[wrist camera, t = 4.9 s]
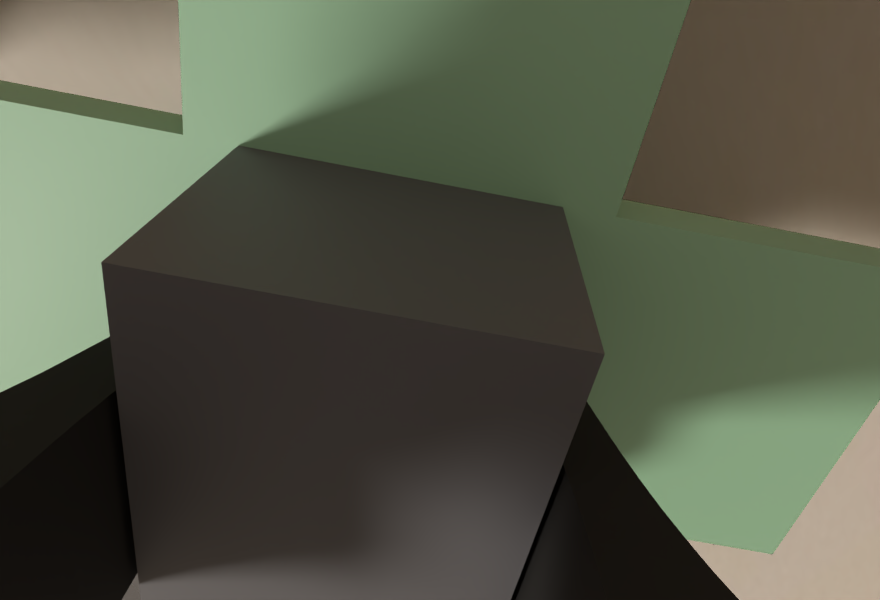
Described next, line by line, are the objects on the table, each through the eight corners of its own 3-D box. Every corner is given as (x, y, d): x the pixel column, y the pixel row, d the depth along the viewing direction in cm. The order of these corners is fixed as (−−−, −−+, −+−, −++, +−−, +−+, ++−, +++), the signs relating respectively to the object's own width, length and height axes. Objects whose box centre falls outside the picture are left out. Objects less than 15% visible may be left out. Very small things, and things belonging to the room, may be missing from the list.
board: (-1, 547, 14) (-167, 757, 11) (-288, -457, 6) (-1346, -992, 3) (667, 657, 15) (727, 893, 11) (1181, -137, 7) (1973, -219, 3)
